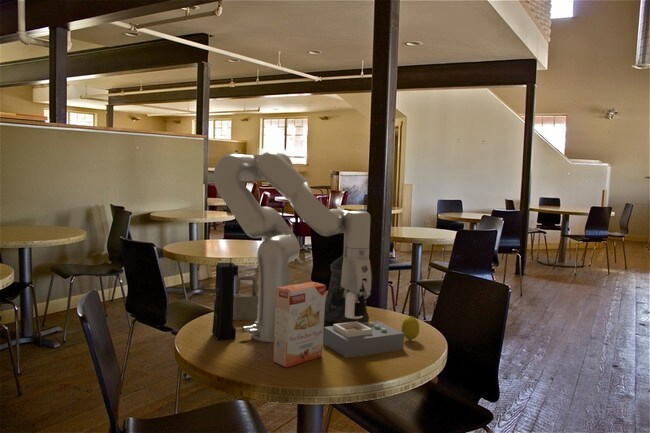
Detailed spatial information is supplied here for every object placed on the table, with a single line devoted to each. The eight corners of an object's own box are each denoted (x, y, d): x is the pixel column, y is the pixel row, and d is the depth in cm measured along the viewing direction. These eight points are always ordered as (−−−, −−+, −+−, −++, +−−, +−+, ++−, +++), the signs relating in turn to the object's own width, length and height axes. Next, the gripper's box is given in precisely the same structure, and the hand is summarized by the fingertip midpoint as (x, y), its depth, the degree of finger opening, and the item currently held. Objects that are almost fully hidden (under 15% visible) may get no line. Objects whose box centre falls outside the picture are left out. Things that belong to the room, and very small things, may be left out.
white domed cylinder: (344, 313, 159) (345, 287, 159) (362, 314, 159) (363, 288, 158) (344, 318, 154) (345, 291, 153) (363, 319, 154) (364, 292, 153)
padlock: (232, 317, 184) (233, 275, 183) (255, 316, 187) (256, 274, 185) (234, 320, 180) (235, 277, 179) (258, 319, 183) (259, 276, 182)
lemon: (420, 339, 168) (422, 315, 167) (416, 344, 163) (417, 319, 162) (403, 336, 170) (405, 312, 170) (398, 341, 165) (400, 316, 165)
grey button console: (346, 358, 148) (347, 335, 148) (322, 342, 161) (323, 322, 160) (403, 349, 158) (404, 328, 157) (377, 335, 170) (378, 316, 170)
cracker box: (287, 369, 139) (290, 290, 137) (272, 362, 143) (275, 286, 141) (323, 356, 149) (327, 284, 147) (308, 351, 153) (311, 280, 151)
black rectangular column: (210, 333, 166) (212, 254, 163) (229, 331, 168) (232, 254, 166) (216, 340, 158) (218, 258, 156) (235, 339, 161) (238, 258, 159)
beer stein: (313, 328, 175) (316, 254, 173) (331, 314, 194) (334, 246, 192) (361, 335, 170) (365, 258, 168) (375, 320, 189) (378, 250, 186)
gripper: (383, 257, 149) (380, 319, 151) (351, 248, 164) (349, 305, 166) (361, 258, 146) (358, 322, 147) (331, 249, 161) (328, 307, 162)
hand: (353, 312), depth 156 cm, fingers closed on white domed cylinder, 5 cm apart
